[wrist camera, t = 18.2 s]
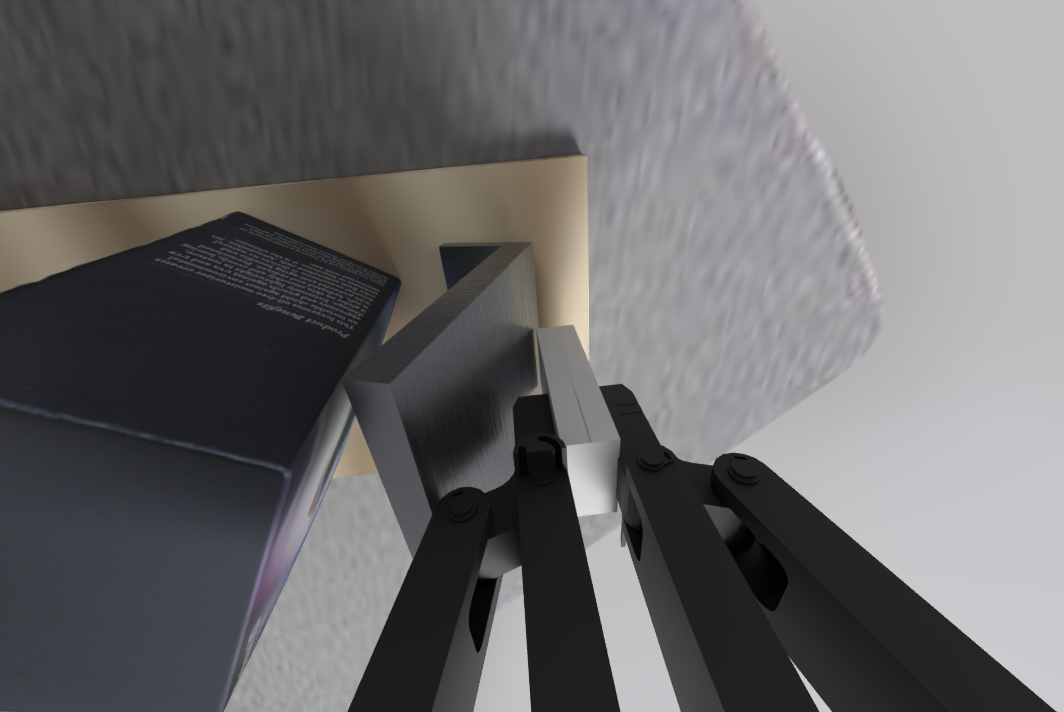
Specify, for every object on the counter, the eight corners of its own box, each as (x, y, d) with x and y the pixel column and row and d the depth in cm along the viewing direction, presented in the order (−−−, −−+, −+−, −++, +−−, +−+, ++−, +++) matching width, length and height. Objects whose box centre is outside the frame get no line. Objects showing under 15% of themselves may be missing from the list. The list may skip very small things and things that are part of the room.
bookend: (479, 423, 19) (370, 611, 12) (444, 243, 15) (234, 367, 7) (547, 431, 18) (473, 641, 11) (532, 241, 14) (389, 384, 7)
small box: (347, 459, 20) (225, 734, 11) (202, 421, 18) (-93, 716, 9) (413, 279, 15) (301, 487, 6) (230, 203, 14) (-294, 348, 5)
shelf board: (-47, 511, 21) (-70, 528, 20) (-384, 248, 13) (-445, 256, 13) (585, 433, 22) (589, 446, 21) (581, 153, 15) (587, 155, 14)
